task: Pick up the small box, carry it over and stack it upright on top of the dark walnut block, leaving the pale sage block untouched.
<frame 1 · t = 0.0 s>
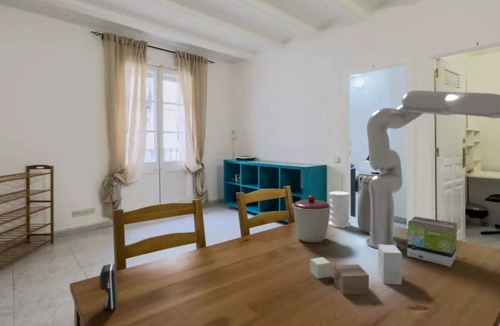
sage block: (320, 274, 103), on the table
decorative container: (339, 225, 162), on the table
small box: (389, 279, 99), on the table
tea box: (431, 258, 115), on the table
canister: (311, 239, 140), on the table
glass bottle: (368, 232, 149), on the table
walnut block: (350, 288, 93), on the table
battery charger: (109, 305, 85), on the table
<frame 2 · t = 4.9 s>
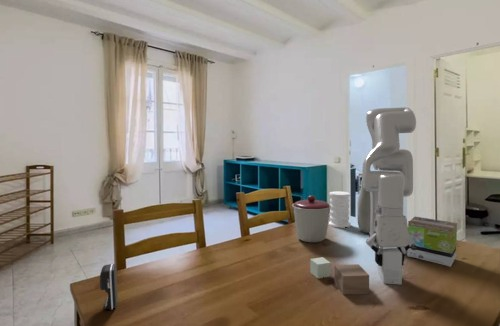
hand: (389, 263, 98), 5 cm above the table, tool pointing down, fingers closed on small box, 6 cm apart
small box: (389, 279, 98), on the table, touching gripper
everything else where it was.
when the fingers open (12 cm above the table, at t = 10.8 s): small box stays where it is, resting on walnut block.
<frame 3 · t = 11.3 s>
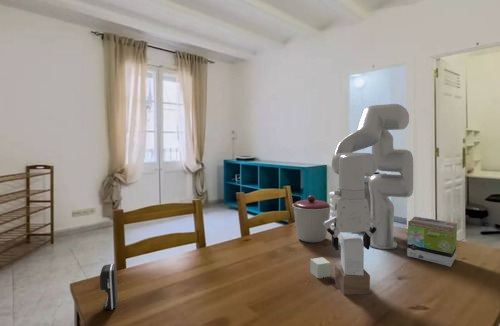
hand: (351, 248, 92), 13 cm above the table, tool pointing down, fingers open, 9 cm apart
small box: (351, 270, 93), point 6 cm above the table, touching walnut block
walnut block: (351, 288, 93), on the table, touching small box
everything else where it was.
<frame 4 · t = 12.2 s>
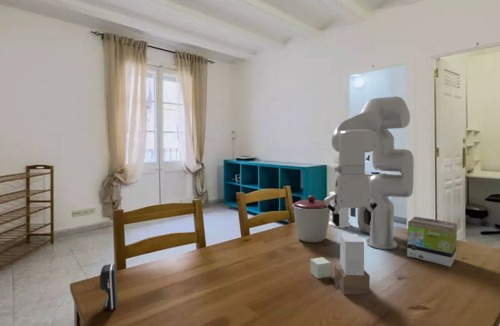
hand: (351, 224, 92), 20 cm above the table, tool pointing down, fingers open, 9 cm apart
nothing on the table moved.
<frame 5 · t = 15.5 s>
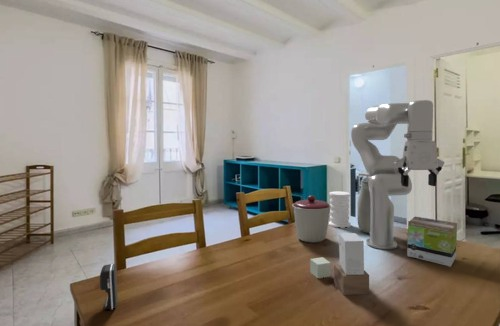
hand: (418, 185, 103), 30 cm above the table, tool pointing down, fingers open, 9 cm apart
nothing on the table moved.
at the end: small box 0.1 cm off-centre on the walnut block, point 5.8 cm above the walnut block's base; small box tilted 1°; the gripper is holding nothing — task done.
